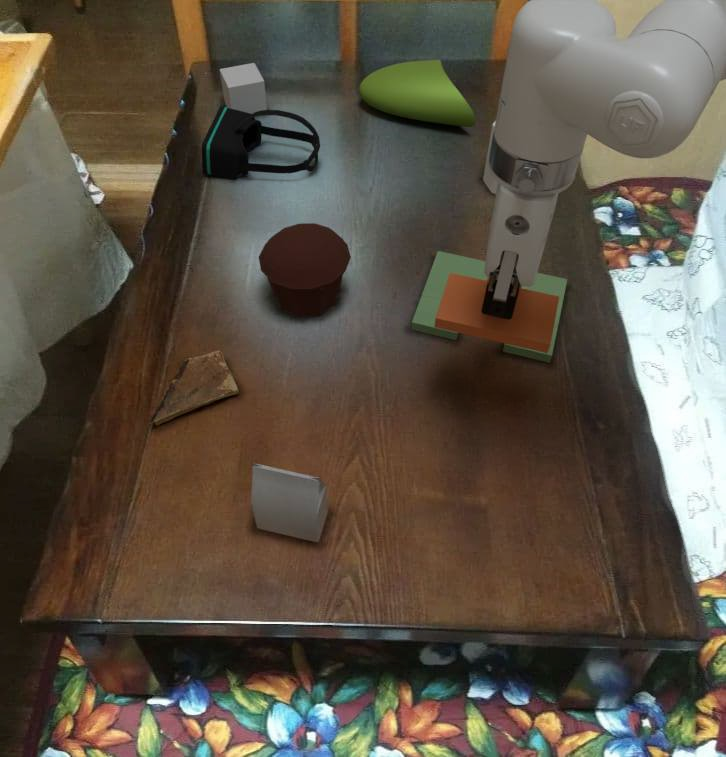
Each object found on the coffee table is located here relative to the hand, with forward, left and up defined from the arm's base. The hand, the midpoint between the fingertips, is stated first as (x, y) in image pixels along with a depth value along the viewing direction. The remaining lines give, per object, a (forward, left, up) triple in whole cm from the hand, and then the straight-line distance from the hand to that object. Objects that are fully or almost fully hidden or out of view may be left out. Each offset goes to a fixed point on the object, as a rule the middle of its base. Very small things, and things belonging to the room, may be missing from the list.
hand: (499, 302), depth 77 cm
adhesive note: (+50, -47, -16) cm, 71 cm away
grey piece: (+15, +23, -16) cm, 32 cm away
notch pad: (+1, -14, -15) cm, 21 cm away
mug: (+4, -43, -16) cm, 46 cm away
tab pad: (0, -2, -2) cm, 3 cm away
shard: (+31, +11, -16) cm, 37 cm away
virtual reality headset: (+41, -34, -16) cm, 56 cm away
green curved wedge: (+22, -55, -16) cm, 61 cm away
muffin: (+25, -9, -16) cm, 31 cm away
